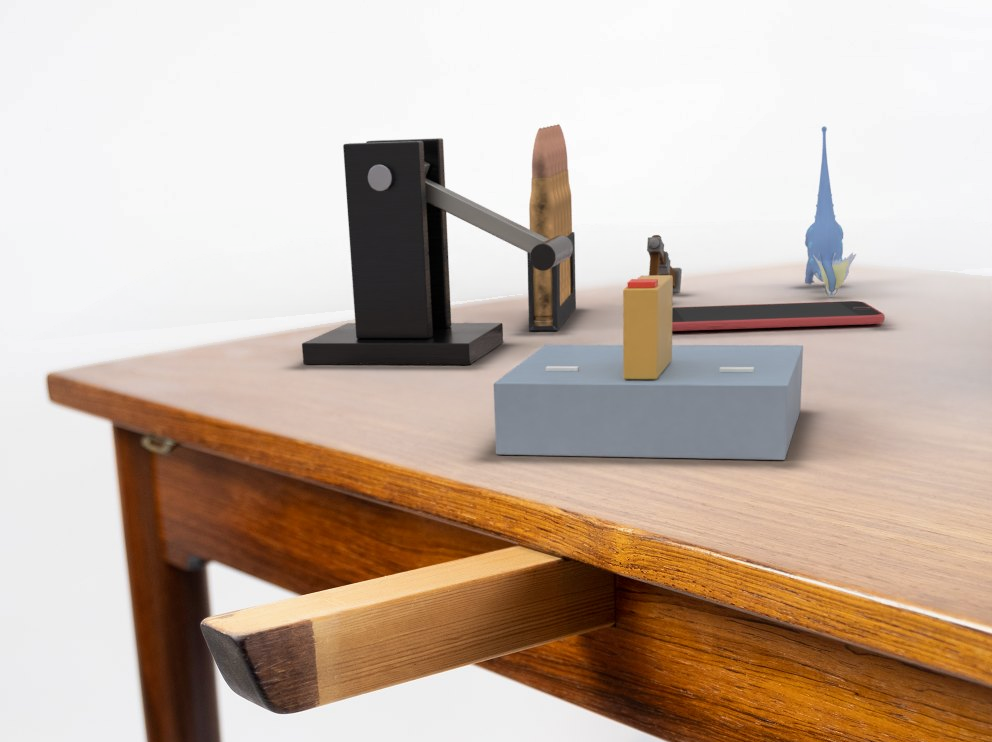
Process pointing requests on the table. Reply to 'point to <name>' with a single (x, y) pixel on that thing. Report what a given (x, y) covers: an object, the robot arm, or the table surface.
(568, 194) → the ammunition clip
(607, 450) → the switch base
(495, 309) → the table surface
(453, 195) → the handle lever
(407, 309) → the lever stand
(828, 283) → the dinosaur figurine
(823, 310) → the smartphone
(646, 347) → the yellow block
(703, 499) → the table surface
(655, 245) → the wooden post with brackets
